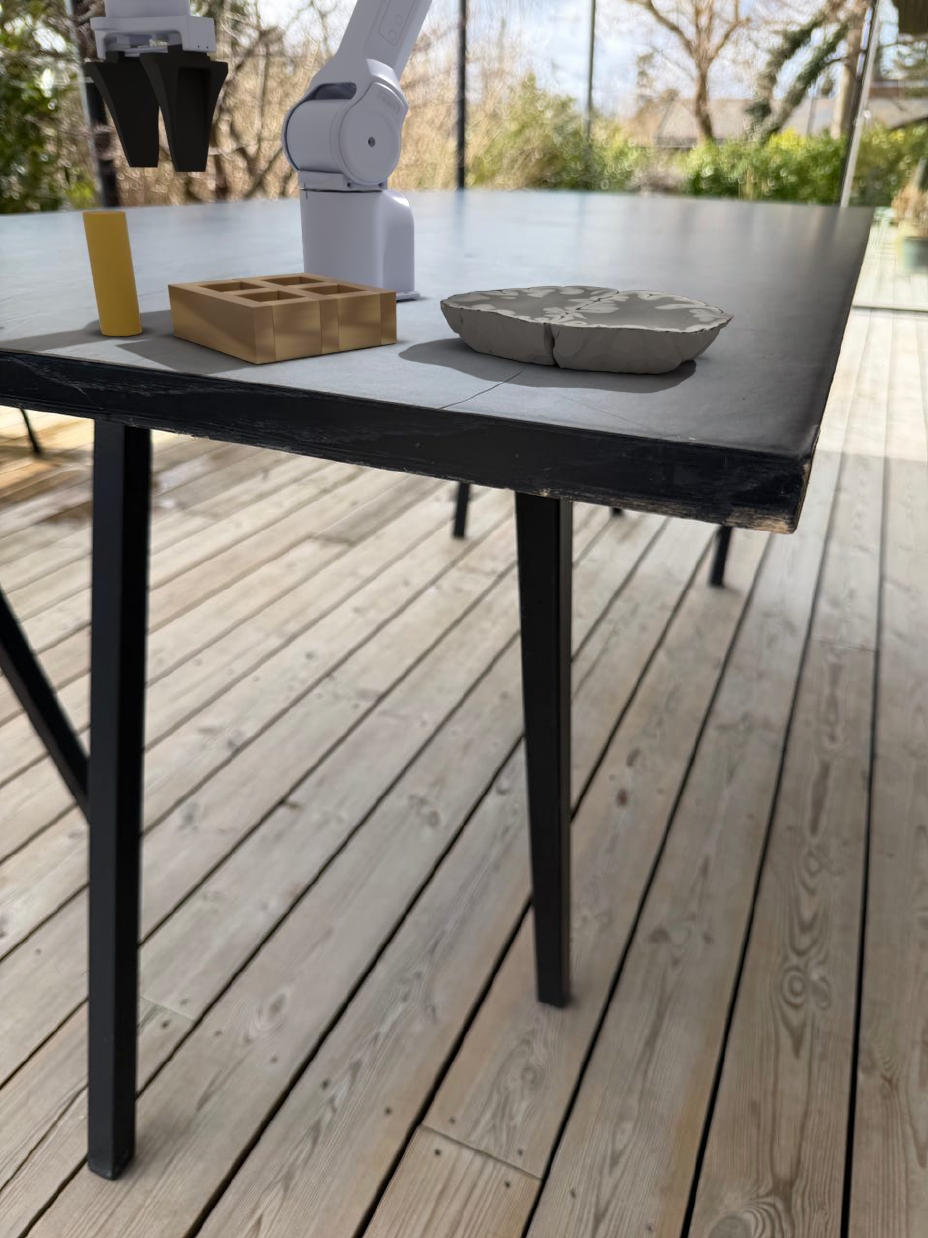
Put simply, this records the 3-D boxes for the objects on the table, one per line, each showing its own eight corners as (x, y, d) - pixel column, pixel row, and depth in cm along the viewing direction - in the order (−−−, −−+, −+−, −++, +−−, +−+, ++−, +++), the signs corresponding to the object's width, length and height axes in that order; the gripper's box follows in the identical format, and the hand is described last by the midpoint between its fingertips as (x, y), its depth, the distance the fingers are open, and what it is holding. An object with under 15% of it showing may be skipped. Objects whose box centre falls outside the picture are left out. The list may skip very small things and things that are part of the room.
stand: (307, 319, 72) (304, 272, 71) (397, 342, 65) (396, 291, 63) (173, 335, 65) (167, 284, 64) (257, 364, 58) (252, 307, 56)
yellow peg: (132, 327, 68) (115, 209, 64) (148, 333, 66) (132, 212, 62) (95, 331, 66) (75, 211, 62) (111, 337, 64) (91, 214, 61)
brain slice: (749, 341, 68) (756, 299, 66) (695, 390, 54) (702, 339, 53) (507, 316, 75) (509, 278, 74) (407, 353, 62) (406, 307, 60)
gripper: (41, -51, 64) (74, 165, 70) (131, -79, 55) (160, 173, 61) (137, -37, 68) (160, 165, 75) (236, -61, 59) (253, 173, 65)
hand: (166, 169), depth 68 cm, fingers open, 7 cm apart
